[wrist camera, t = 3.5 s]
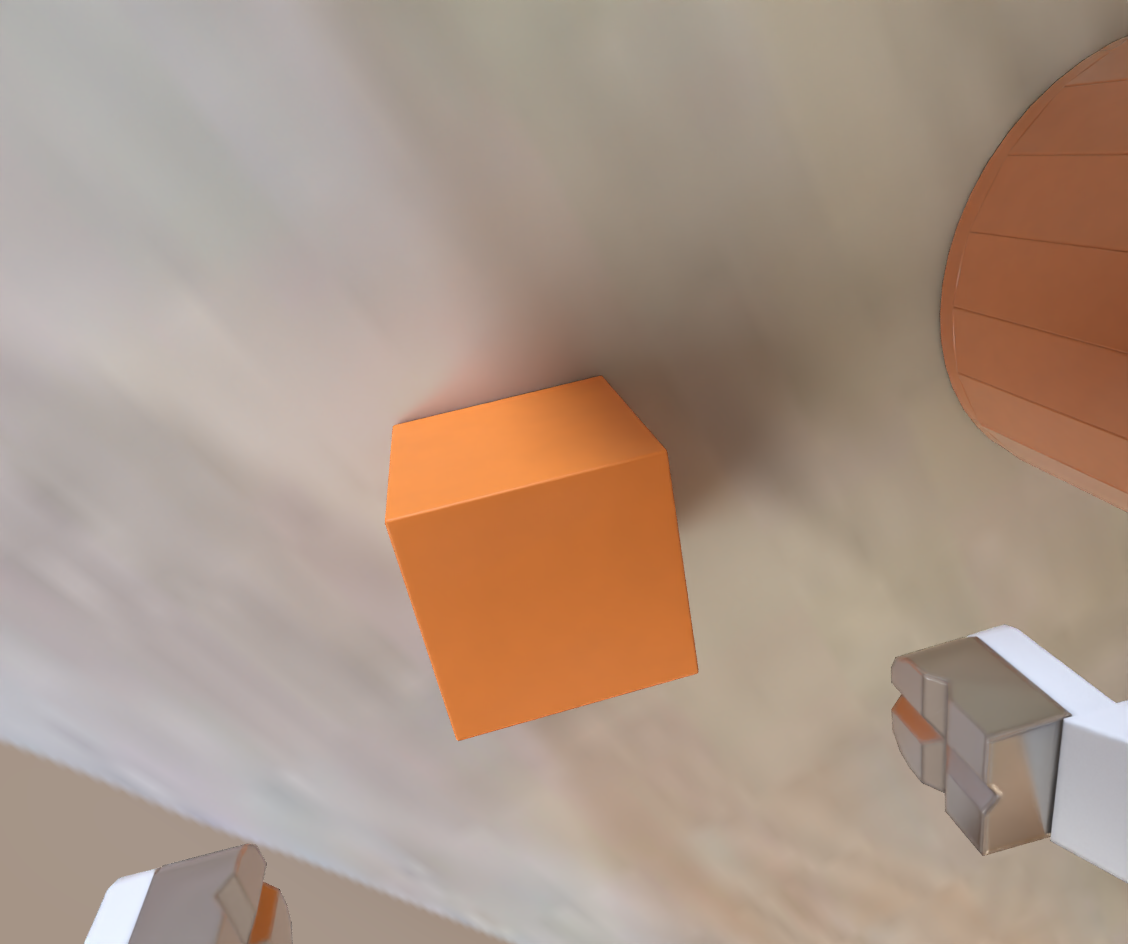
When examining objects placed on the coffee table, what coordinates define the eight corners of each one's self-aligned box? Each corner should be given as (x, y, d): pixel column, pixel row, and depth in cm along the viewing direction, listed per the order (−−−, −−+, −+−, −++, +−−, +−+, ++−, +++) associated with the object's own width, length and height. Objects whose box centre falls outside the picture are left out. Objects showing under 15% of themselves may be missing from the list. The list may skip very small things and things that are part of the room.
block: (392, 425, 15) (383, 521, 11) (601, 374, 16) (668, 449, 12) (446, 604, 17) (457, 742, 13) (633, 554, 18) (700, 674, 13)
